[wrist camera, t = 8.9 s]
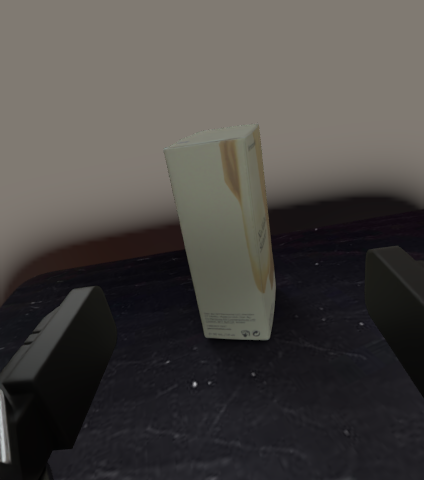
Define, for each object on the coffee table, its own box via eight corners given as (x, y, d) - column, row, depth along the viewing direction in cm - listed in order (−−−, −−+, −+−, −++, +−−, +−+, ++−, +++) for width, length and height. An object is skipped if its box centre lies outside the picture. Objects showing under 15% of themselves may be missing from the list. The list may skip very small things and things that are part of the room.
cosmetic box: (271, 344, 19) (246, 136, 14) (203, 341, 21) (158, 149, 16) (277, 284, 25) (261, 119, 20) (223, 284, 26) (195, 129, 21)
